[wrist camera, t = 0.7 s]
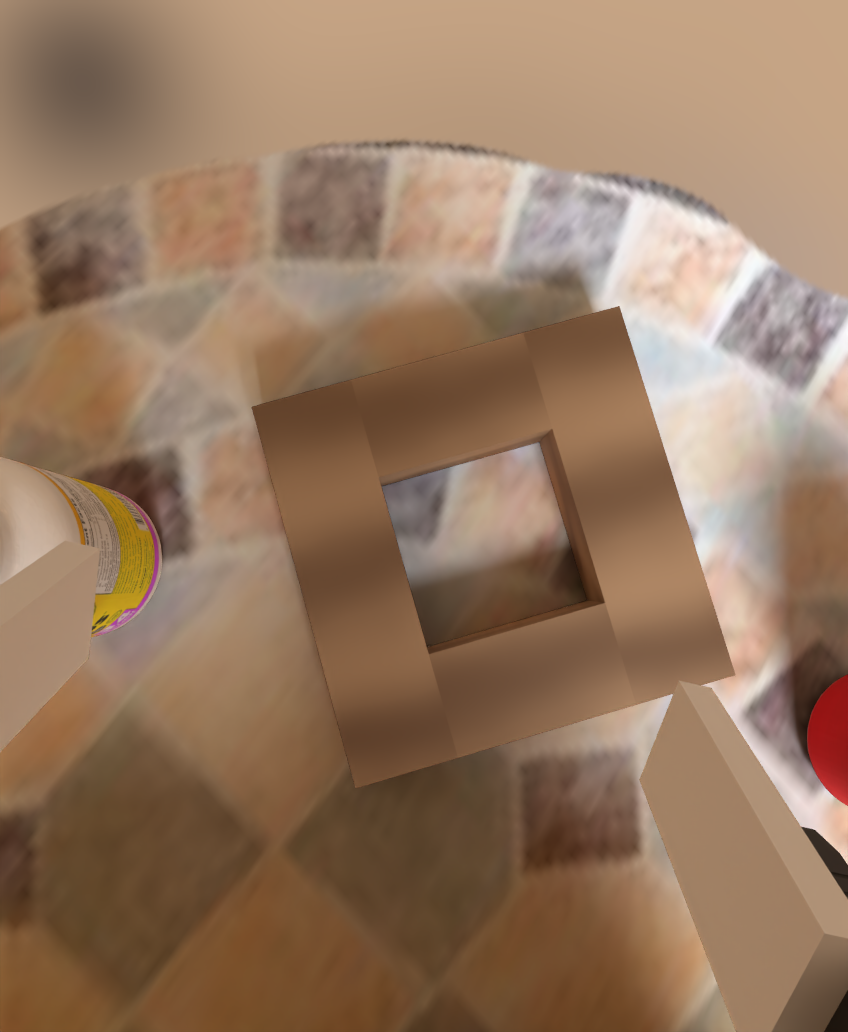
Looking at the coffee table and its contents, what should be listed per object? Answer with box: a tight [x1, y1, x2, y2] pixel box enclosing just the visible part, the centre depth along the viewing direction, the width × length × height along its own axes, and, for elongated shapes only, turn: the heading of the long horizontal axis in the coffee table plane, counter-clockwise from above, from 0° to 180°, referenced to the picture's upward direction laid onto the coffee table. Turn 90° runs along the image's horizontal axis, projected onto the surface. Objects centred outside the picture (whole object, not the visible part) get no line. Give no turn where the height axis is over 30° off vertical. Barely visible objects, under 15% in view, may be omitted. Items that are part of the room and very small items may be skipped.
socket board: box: [252, 306, 735, 789], centre depth 31 cm, size 16×16×3 cm
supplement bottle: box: [0, 457, 162, 637], centre depth 26 cm, size 7×7×13 cm
